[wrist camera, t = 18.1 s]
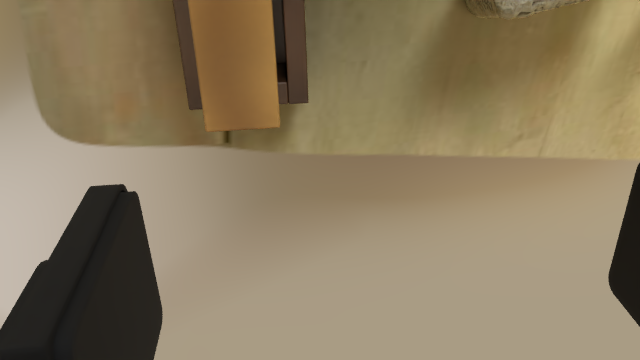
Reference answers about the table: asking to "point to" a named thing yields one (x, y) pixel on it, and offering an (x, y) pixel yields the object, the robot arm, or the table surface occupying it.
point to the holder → (286, 44)
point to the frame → (236, 63)
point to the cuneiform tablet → (514, 7)
